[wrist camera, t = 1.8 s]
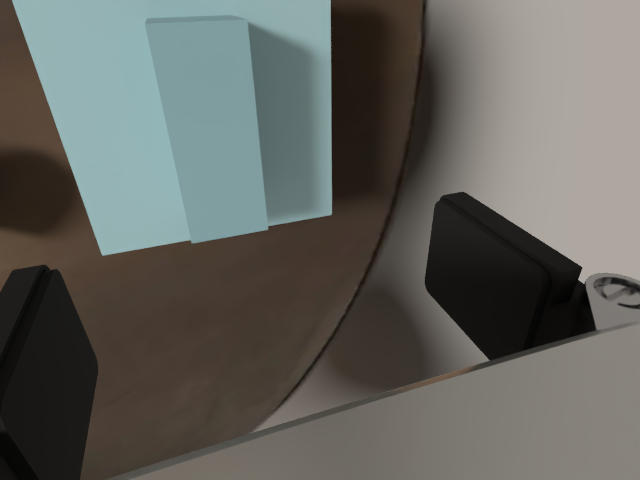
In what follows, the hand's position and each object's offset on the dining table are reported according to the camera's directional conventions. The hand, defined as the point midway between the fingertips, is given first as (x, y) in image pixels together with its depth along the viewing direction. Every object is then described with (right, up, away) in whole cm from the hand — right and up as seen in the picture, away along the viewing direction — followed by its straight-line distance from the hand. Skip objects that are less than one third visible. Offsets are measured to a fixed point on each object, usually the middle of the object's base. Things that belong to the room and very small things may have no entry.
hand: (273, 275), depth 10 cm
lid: (-6, +9, +14) cm, 17 cm away
